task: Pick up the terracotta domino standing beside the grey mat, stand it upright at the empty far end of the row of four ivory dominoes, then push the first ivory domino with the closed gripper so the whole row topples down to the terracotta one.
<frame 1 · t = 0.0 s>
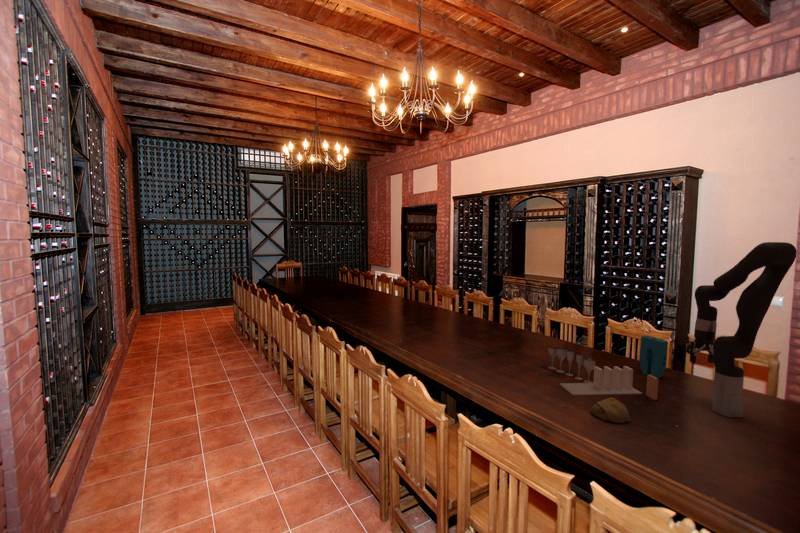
hand: (701, 362, 172), 17 cm above the table, tool pointing down, fingers open, 8 cm apart
ivory domino 4: (597, 388, 184), point 1 cm above the table, touching grey rubber mat
ivory domino 2: (617, 387, 184), point 1 cm above the table, touching grey rubber mat
ivory domino 3: (607, 387, 184), point 1 cm above the table, touching grey rubber mat
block: (651, 375, 203), on the table
terracotta domino: (651, 397, 175), on the table
grey rubber mat: (599, 389, 184), on the table
goblet set: (569, 375, 202), on the table
pastry: (610, 417, 156), on the table
ivory domino 1: (626, 387, 185), point 1 cm above the table, touching grey rubber mat
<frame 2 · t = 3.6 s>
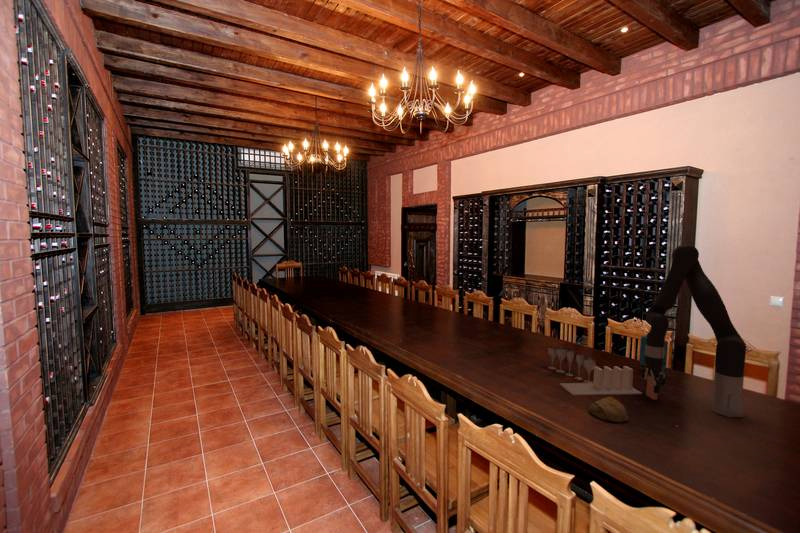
hand: (651, 390, 175), 3 cm above the table, tool pointing down, fingers closed on terracotta domino, 5 cm apart
terracotta domino: (651, 397, 175), on the table, touching gripper
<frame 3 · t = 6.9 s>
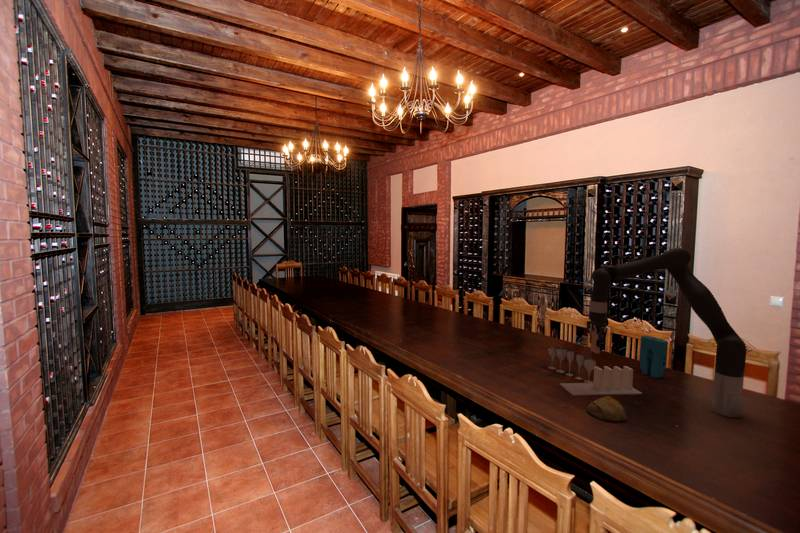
hand: (595, 344, 181), 22 cm above the table, tool pointing down, fingers closed on terracotta domino, 5 cm apart
terracotta domino: (594, 351, 182), point 19 cm above the table, touching gripper
when the fingers open (5 cm above the table, at t = 10.2 s): terracotta domino stays where it is, resting on grey rubber mat.
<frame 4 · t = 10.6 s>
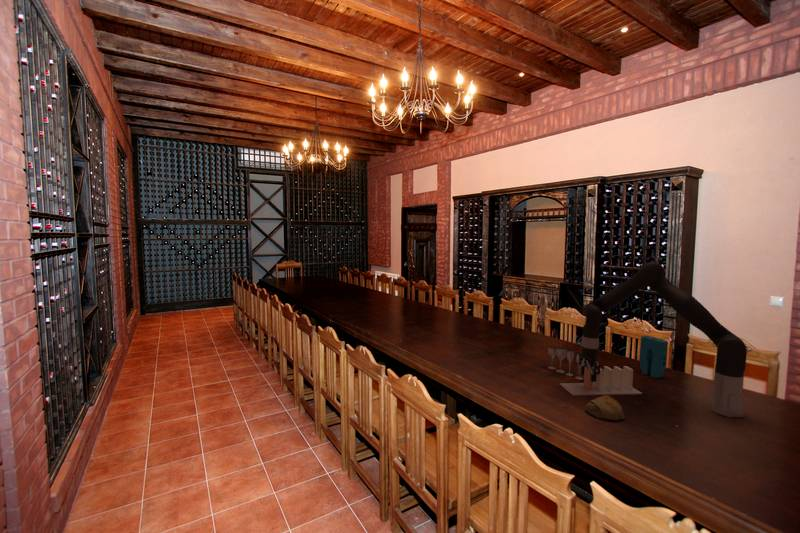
hand: (588, 378, 183), 6 cm above the table, tool pointing down, fingers open, 8 cm apart
terracotta domino: (587, 388, 183), point 1 cm above the table, touching grey rubber mat
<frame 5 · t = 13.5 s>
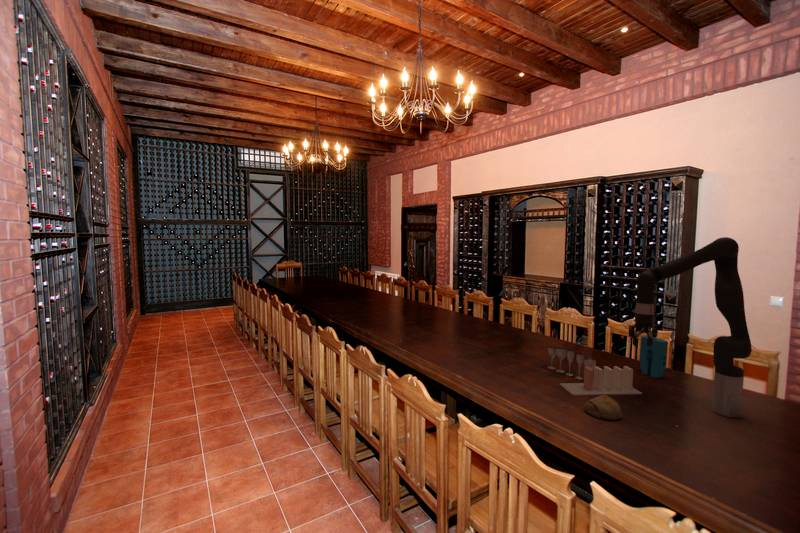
hand: (642, 345, 183), 22 cm above the table, tool pointing down, fingers open, 6 cm apart
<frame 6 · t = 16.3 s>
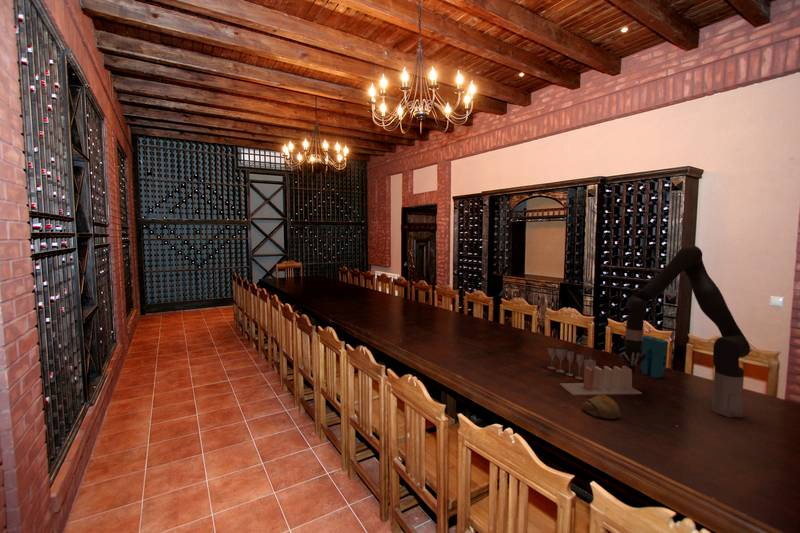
hand: (631, 372, 185), 8 cm above the table, tool pointing down, fingers closed
ivory domino 1: (626, 387, 185), point 1 cm above the table, touching grey rubber mat, gripper
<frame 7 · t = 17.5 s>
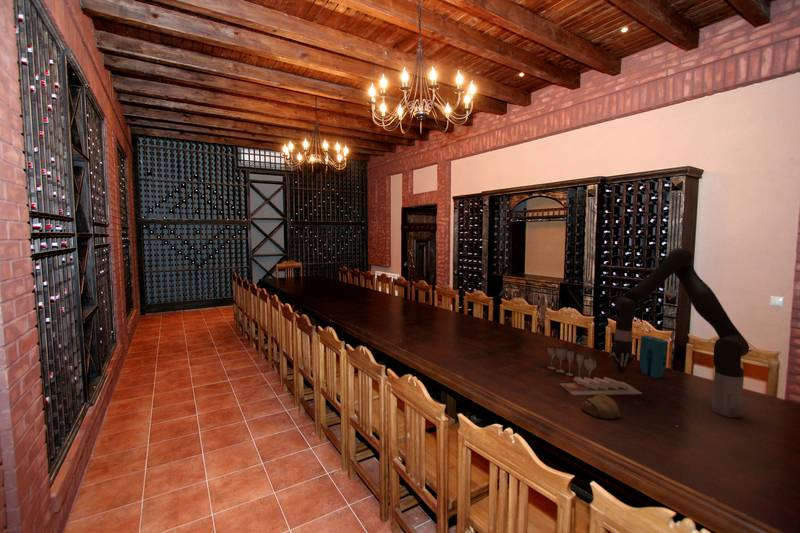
hand: (621, 373, 184), 8 cm above the table, tool pointing down, fingers closed
ivory domino 4: (595, 386, 184), point 1 cm above the table, tilted 71°, touching ivory domino 3, terracotta domino
ivory domino 2: (615, 386, 184), point 1 cm above the table, tilted 71°, touching grey rubber mat, ivory domino 1, ivory domino 3
ivory domino 3: (605, 386, 184), point 1 cm above the table, tilted 71°, touching grey rubber mat, ivory domino 2, ivory domino 4
terracotta domino: (585, 386, 183), point 1 cm above the table, tilted 90°, touching grey rubber mat, ivory domino 4
ivory domino 1: (625, 386, 184), point 1 cm above the table, tilted 72°, touching grey rubber mat, ivory domino 2
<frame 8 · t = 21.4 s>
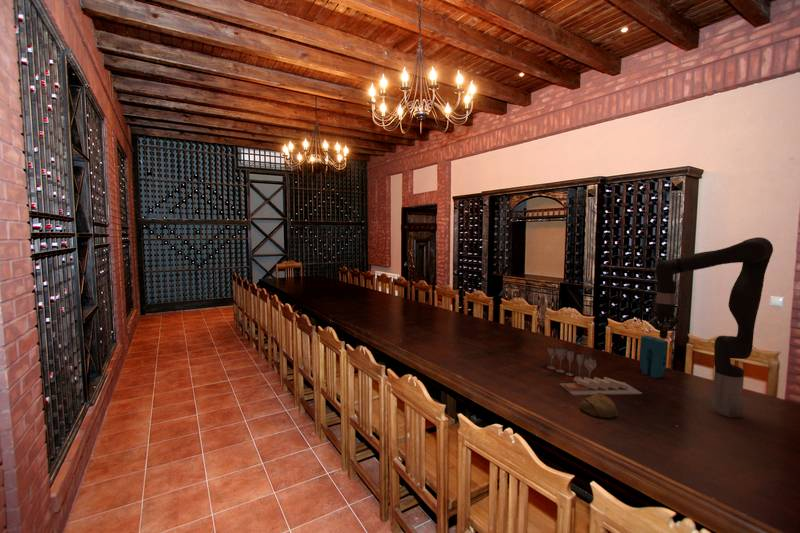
hand: (663, 338, 177), 27 cm above the table, tool pointing down, fingers closed
at the end: terracotta domino tilted 90°; ivory domino 3 tilted 71°; terracotta domino inside the target area (0.5 cm from its centre), point 1.4 cm above the table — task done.
